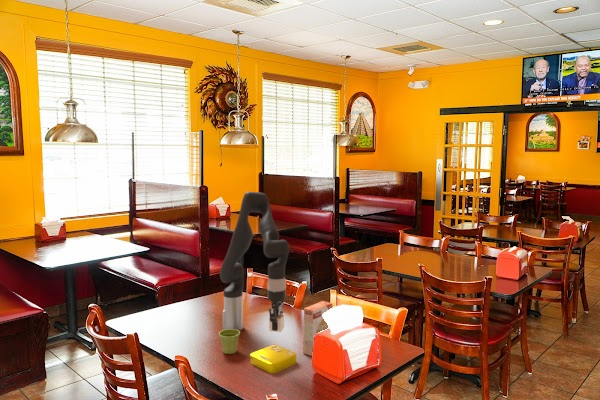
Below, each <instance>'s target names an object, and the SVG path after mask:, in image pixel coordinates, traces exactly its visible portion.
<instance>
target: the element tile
mask: <svg viewBox="0 0 600 400" xmlns="http://www.w3.org/2000/svg"><path fill="white" fill-rule="evenodd" d="M249 357H250V365H252V366H255V367H256V368H258V369H261V370H262V371H265V372H266V373H269V374H277V373H279V372H281V371H283V370H285V369H287V368H290V367H292V366H294V365H297V353H296V352H295V351H292V350H289V349H287V348H285V347H283V346H280V345H277V344H272V345H271V344H270V345H269V346H266V347H264V348H261V349H258V350H256V351H253V352H251V353H250V355H249Z"/></svg>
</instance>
